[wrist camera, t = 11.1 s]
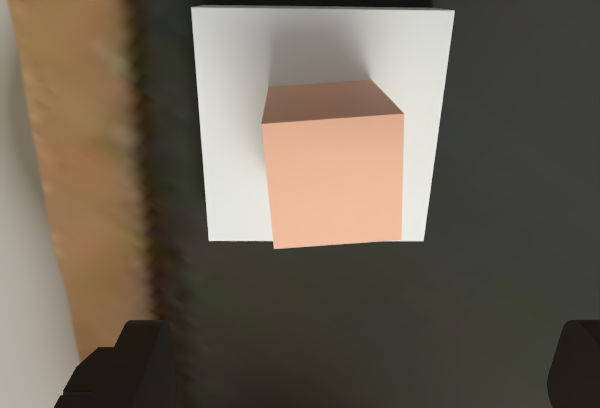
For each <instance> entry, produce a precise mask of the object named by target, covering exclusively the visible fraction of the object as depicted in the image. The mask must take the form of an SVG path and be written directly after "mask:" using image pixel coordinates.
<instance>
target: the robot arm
mask: <svg viewBox="0 0 600 408" xmlns="http://www.w3.org/2000/svg"><path fill="white" fill-rule="evenodd" d="M547 388H548V395H549V399H550V402H551V405H552V407H553V408H600V320H570V321H568V322H566V324H565V325H564V327H563V329H562V332H561V335H560V339H559V342H558V345H557V349H556V352H555V355H554V358H553V362H552V365H551V368H550V372H549V375H548V380H547ZM176 392H177V379H176V370H175V362H174V355H173V347H172V339H171V331H170V326H169V323H168V321H167V320H130V321H128V322H127V323H126V324H125V326H124V328H123V330H122V332H121V334H120V336H119V338H118V340H117V342H116V344H115V346H114V347H98V348H97V349H96V350H95V351H94V352H93V353H91V354H90V355H89V356H88V357H87V358H86V359H85V360H84V361H83V362H81V363H80V364H79V365H78V366H77V367H76V369H75V370H74V372H73V374H72V376H71V378H70V380H69V381H68V383H67V385H66V387H65V388H64V390H63V395H61V396H60V397H59V399H58V401H57V403H56V405H55V406H54V408H175V402H176Z"/></svg>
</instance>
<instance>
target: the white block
mask: <svg viewBox="0 0 600 408" xmlns="http://www.w3.org/2000/svg"><path fill="white" fill-rule="evenodd" d="M191 12H192V25H193V38H194V51H195V65H196V78H197V91H198V104H199V117H200V130H201V143H202V156H203V169H204V182H205V195H206V208H207V222H208V235H209V241H273V234H272V224H271V214H270V205H269V195H268V185H267V175H266V166H265V156H264V146H263V137H262V127H261V122H262V117H263V112H264V107H265V102H266V97H267V92H268V87H279V86H293V85H307V84H321V83H334V82H348V81H362V80H372V81H373V82H374V83H375V84H376V85H377V86H378V87H379V88H380V89H381V90H382V91H383V92H384V93H385V94H386V95H387V96H388V97H389V98H390V99H391V100H392V101H393V102H394V103H395V104H396V106H397V107H398V108H399V109H400V110H401V111H402V112H403V113H404V148H403V192H402V236H401V240H392V241H424V233H425V226H426V218H427V211H428V204H429V196H430V189H431V182H432V174H433V167H434V160H435V152H436V145H437V137H438V130H439V123H440V115H441V108H442V101H443V93H444V86H445V79H446V71H447V64H448V57H449V49H450V42H451V34H452V27H453V20H454V12H455V11H454V10H446V9H439V8H408V7H327V6H246V5H201V6H196V7H191Z"/></svg>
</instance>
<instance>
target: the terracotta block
mask: <svg viewBox="0 0 600 408" xmlns="http://www.w3.org/2000/svg"><path fill="white" fill-rule="evenodd" d="M261 127H262V137H263V146H264V156H265V166H266V175H267V185H268V195H269V205H270V214H271V224H272V234H273V244H274V249H280V248H294V247H308V246H322V245H336V244H350V243H364V242H378V241H392V240H401V236H402V192H403V148H404V113H403V112H402V111H401V110H400V109H399V108H398V107H397V106H396V104H395V103H394V102H393V101H392V100H391V99H390V98H389V97H388V96H387V95H386V94H385V93H384V92H383V91H382V90H381V89H380V88H379V87H378V86H377V85H376V84H375V83H374V82H373V81H372V80H362V81H348V82H334V83H321V84H307V85H293V86H279V87H268V92H267V97H266V102H265V107H264V112H263V117H262V122H261Z"/></svg>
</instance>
